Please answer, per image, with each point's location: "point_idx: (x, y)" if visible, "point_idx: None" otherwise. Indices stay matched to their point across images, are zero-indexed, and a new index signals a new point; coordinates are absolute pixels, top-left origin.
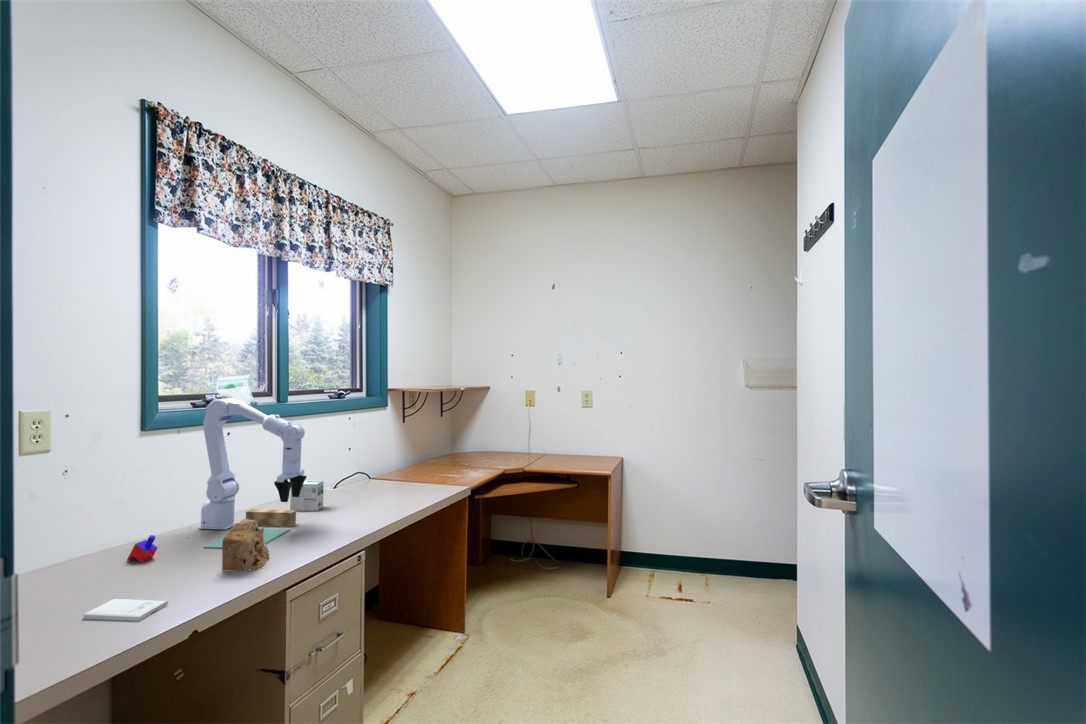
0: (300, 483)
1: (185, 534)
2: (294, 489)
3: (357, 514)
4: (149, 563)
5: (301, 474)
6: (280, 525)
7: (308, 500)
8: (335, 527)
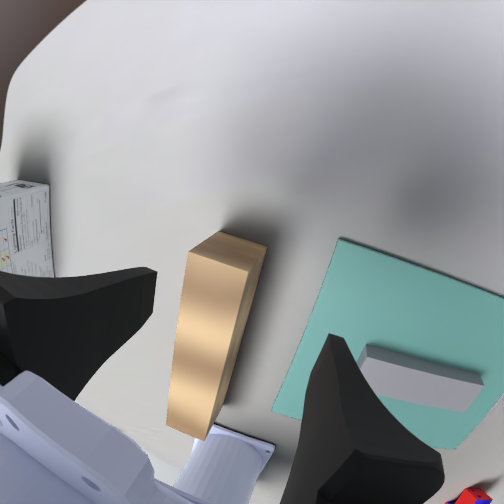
0: (72, 307)
1: None
2: (115, 330)
3: (108, 7)
4: (498, 477)
5: (108, 445)
6: (253, 294)
7: (19, 230)
8: (313, 20)
